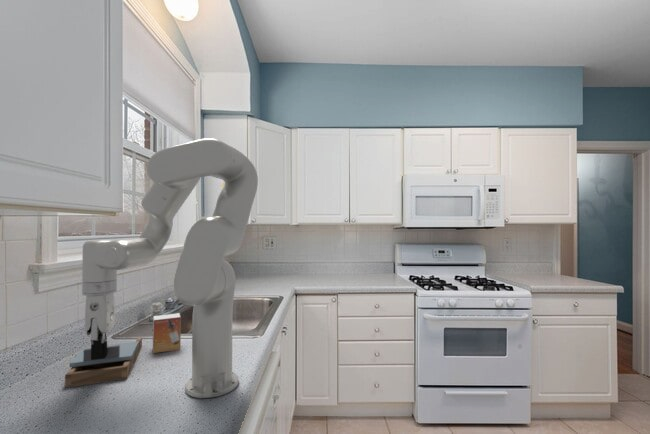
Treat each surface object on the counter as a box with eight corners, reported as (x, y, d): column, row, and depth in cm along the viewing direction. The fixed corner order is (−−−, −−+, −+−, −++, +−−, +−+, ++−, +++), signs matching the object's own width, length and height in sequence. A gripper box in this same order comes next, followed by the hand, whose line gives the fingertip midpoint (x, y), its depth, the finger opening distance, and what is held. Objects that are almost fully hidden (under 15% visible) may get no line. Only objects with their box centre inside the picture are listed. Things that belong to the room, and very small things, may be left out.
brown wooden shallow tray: (126, 378, 88) (127, 366, 88) (65, 387, 83) (65, 375, 83) (141, 346, 111) (141, 337, 111) (93, 352, 106) (94, 342, 106)
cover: (131, 359, 92) (131, 344, 92) (69, 367, 87) (69, 351, 87) (138, 344, 103) (138, 331, 103) (84, 350, 98) (84, 336, 98)
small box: (152, 354, 104) (153, 320, 104) (152, 348, 109) (152, 315, 109) (180, 349, 108) (181, 316, 108) (179, 344, 113) (179, 312, 113)
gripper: (109, 291, 82) (108, 367, 82) (122, 281, 96) (121, 346, 96) (72, 294, 80) (71, 372, 79) (91, 283, 94) (90, 349, 93)
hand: (99, 357), depth 88 cm, fingers closed
